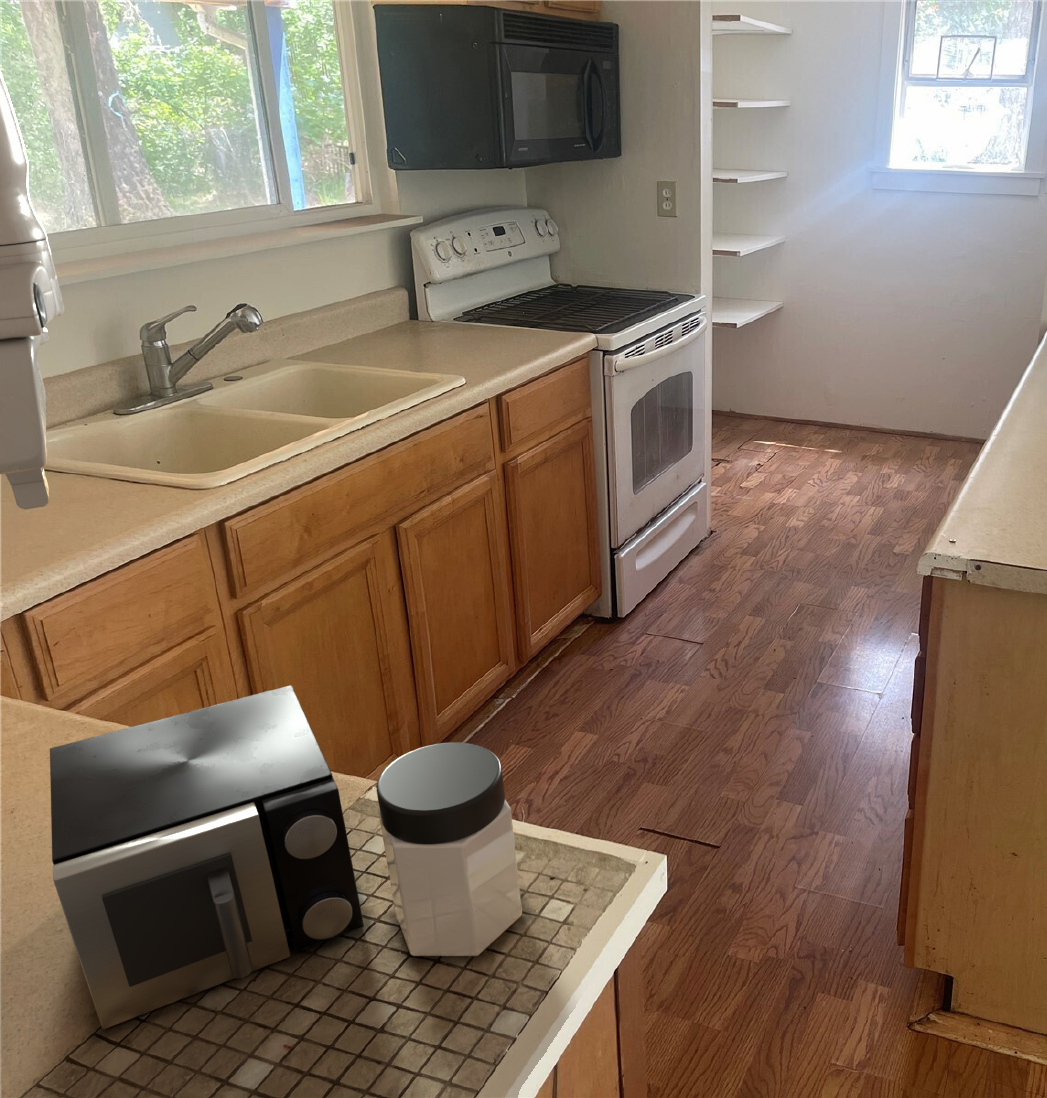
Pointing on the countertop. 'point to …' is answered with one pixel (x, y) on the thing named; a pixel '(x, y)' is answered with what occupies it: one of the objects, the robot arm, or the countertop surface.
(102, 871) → the oven door
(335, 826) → the oven
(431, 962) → the countertop surface
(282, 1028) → the countertop surface
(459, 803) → the jar
